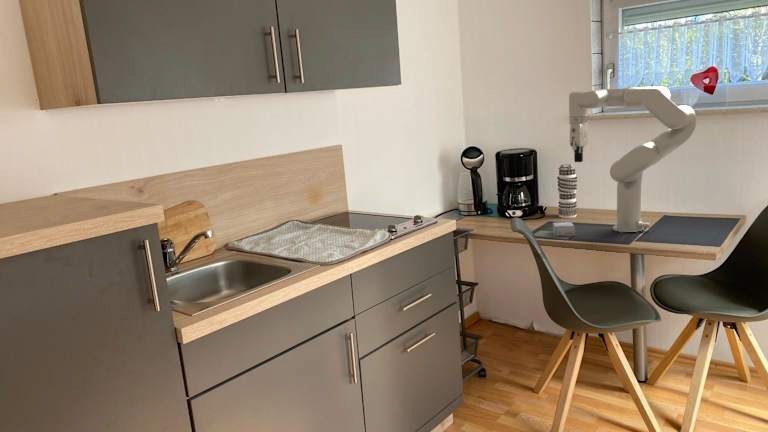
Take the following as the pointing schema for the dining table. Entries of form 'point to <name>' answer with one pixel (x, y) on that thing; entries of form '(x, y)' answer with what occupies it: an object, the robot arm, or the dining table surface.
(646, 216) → the dining table surface
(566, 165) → the decorative candle
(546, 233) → the mat
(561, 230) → the medicine box
